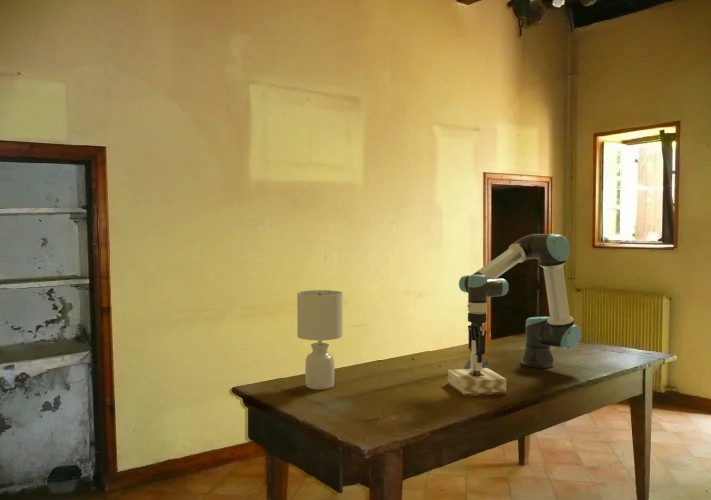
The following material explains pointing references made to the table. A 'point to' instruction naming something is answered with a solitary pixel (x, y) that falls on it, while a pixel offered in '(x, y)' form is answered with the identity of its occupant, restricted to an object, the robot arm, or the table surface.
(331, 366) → the lamp
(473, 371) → the pin
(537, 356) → the robot arm
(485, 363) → the rock
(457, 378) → the bore block
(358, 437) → the table surface
